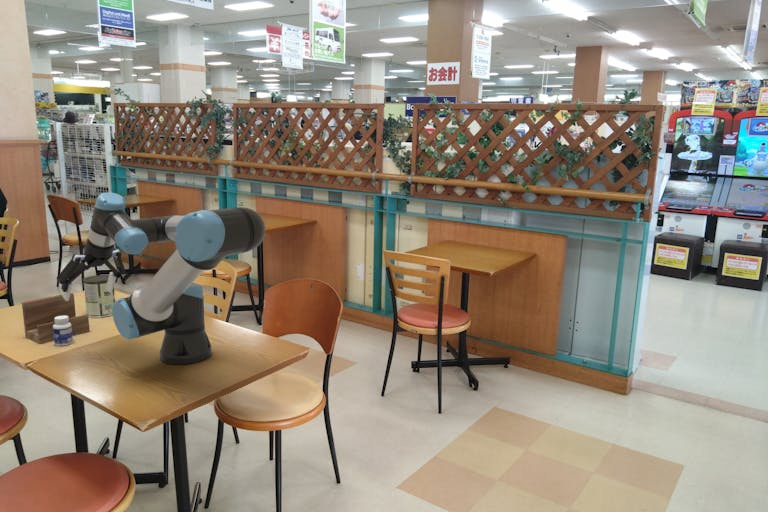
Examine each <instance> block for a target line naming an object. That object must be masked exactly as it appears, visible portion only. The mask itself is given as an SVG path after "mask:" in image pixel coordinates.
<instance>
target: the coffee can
mask: <svg viewBox="0 0 768 512" xmlns="http://www.w3.org/2000/svg"><path fill="white" fill-rule="evenodd" d="M108 278H109V274H99V275H98V274H97V275H91V276H87V277H84V278H83V280H82V281H83V288H84V289H83V290H84V298H85V309H86V314H87V315H88V318H92V319H93V318H94V319H97V318H98V319H99V318H107V317H111V316H113V313H112V308H113V304H114V302H115V301H116V295H115V287H114V288H113V291H112V293H109V291H108V290H107V289H106V285H107V282H108Z"/></svg>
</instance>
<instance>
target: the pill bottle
mask: <svg viewBox="0 0 768 512" xmlns="http://www.w3.org/2000/svg"><path fill="white" fill-rule="evenodd" d="M54 321H55V323H56V324H54V325H53V334H54V341H53V342H54V345H55V346H57V347H63V346H68V345H71V344H73V342H74V339H73V337H74V336H72V326H71V323H70V322H68V321H69V317H68V316H57V317H55V318H54Z"/></svg>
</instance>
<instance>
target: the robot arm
mask: <svg viewBox="0 0 768 512" xmlns="http://www.w3.org/2000/svg"><path fill="white" fill-rule="evenodd" d="M125 209H126V200H125V198H124V197H123V196H122V195H120V194H118V193H115V192H111V191H108V192H102V193H100V194H99V195H98V196H97V199H96V201H95V204H94V207H93V212H92V217H91V222H90V225H89V226H90V227H89V230H88V235H87V238H86V241H85V248H84V249H85V250H84V253H83V254H78V253H73V254H72V257H71V259H70V260H69V262H68V263H67V264H66V265H65V267H63V269H62V270H61V271H60V273H59V274H58V275H57V276H56V277H55V279H56V280H57V282H58V283H59V284H60V285H61V287H60V288H61V291H62V294H61V295H62V296H63V298H64V299H65V301H69V297H70V293H72V287H73V282H74V281H75V280H76V279H77V278H79V277H80V275H82V274H83V273H84V272H86V271H88V270H90V269H91V268H96V267H102V266H103V265H105V266H106V267H107V268H108V269H109V270H110V272H109V274H108V275H109V278H108V282H107V285H106V289H107V290H108V291H109V293H112V291H113V288H114V289H115V284H117V283H118V280H119V279H120V278H121V277H122V275H124V274H126V273H127V271H126V268H125V266H124V263H123V260H122V252H121V251H120V250H119V248H120V249H121V250H122V251H123V253H125V254H128V255H137V254H138V253H140V252H142V251H144V249H146V248H147V245H150V244H157V243H164V242H166V243H167V242H174V243H175V247H176V249H175V251H174V252H173V253H172V254H171V256H169V258H168V259H167V260H166V261H165V262H164V264H163V265H162V266H161V267H160V268H159V270H158V271H157V272H156V273H155V274H154V275H153V277H152V278H151V279H150V281H149V282H148V283H146V284H141V285H140V286H138V287H137V288H136V289H135V290H133V292H132V293H131V294H130V295H129V296H127V297H121V298H118V299H115V302H114V304H113V308H112V313H113V315H112V318H113V322H114V325H115V328H116V329H117V331H118V333H119V334H120V335H121V336H122V337H123V338H124V339H127V340H133V339H134V340H135V339H139V338H141V337H145V336H147V335H153V334H155V333H158V332H161V331H164V335H163V338H162V339H163V340H162V342H161V347H160V349H159V358H160V360H161V362H163V363H165V364H170V365H188V364H195V363H199V362H203V361H205V360H207V359H208V358H210V357H211V356H212V354H213V352H212V344H211V342H210V339H209V336H208V334H207V331H206V327H205V325H206V324H205V306H204V305H205V303H204V299H205V296H204V289H203V286H202V285H201V284H199V283H195V281H196V280H197V279H198V278H199V276H200V275H202V274H203V272H205V271H211V270H213V269H215V268H216V267H217V266H218V265H219V264H220V263H221V262H222V261H223V260H224V259H225V258H226V257H229V256H233V255H238V254H239V255H240V254H244V253H248V252H250V251H253V250H255V249H257V248H258V247H259V246H260V245H261V243H263V241H264V239H265V237H266V236H265V235H266V223H265V221H264V219H263V217H262V215H260V214H259V212H257V211H256V210H254V209H252V208H249V207H243V206H240V207H239V206H238V207H228V208H219V209H210V210H208V209H207V210H206V209H201V210H197V211H194V212H193V211H192V212H190V213H186V214H185V215H179V214H178V215H175V214H170V215H165V216H156V217H148V218H139V219H133V218H131V217H130V216H129V215H128V214H127V213H126V211H125ZM115 245H116V246H117V247H116V248H115ZM112 257H113V258H114V261H115V263H116V266H117V268H116V267H115V266H114V265H113V264H112V263H111V262H110V261H109V260H110V259H111V258H112Z"/></svg>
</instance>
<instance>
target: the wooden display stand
mask: <svg viewBox="0 0 768 512" xmlns="http://www.w3.org/2000/svg"><path fill="white" fill-rule="evenodd" d="M75 304H76V303H75V294H74V292H71V293H70V297H69V301H65V299H64V298H63V296H62V294H59V295H53V296H48V297H44V298H43V297H42V298H37V299H33V300H27V301H23V302H22V301H21V307H22V316H23V326H24V334H25V338H26V339H29V340H30V341H33V342H35V343H38V344H39V345H42V344H44V343H45V344H46V343H50V342H54V334H53V325H54V324H56V323H55V321H54V318H55V317H57V316H68V317H69V321H68V322H70V323H71V326H72V337H74V336H78V335H81V334H85V333H89V332H90V330H91V329H90V319H89V318H90V317H88V315H87V313H86V314H83V315H78V316H77V314H76V305H75Z"/></svg>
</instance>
